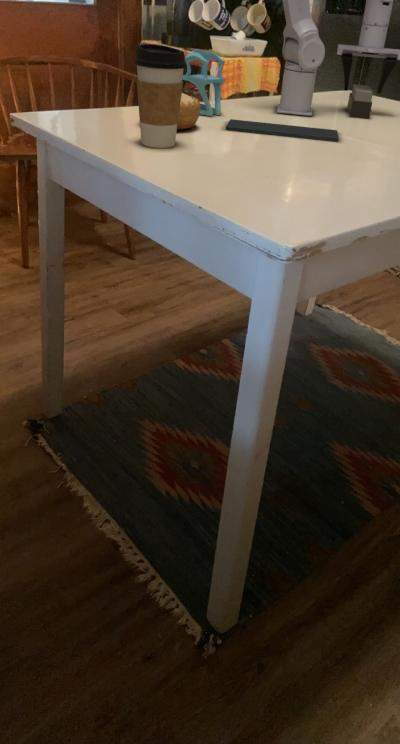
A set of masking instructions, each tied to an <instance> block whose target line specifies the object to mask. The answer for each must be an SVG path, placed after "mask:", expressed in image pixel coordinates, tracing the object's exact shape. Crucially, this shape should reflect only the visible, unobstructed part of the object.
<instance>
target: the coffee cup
mask: <svg viewBox="0 0 400 744" xmlns="http://www.w3.org/2000/svg"><path fill="white" fill-rule="evenodd" d="M185 57H186V56H185V51H183V50H181V49H178V48H174V47H171V46H168V45H163V44H156V43H155V44H154V43H141V44H137V48H136V55H135V57H134V65H135V66H136V70H137V72H136V73H137V78H136V87H137V88H136V90H137V102H138V103H137V104H138V115H139V116H138V117H139V127H140V130H139V131H140V143H141V144H142V145H143V146H145V147H149V148H155V149H169V148H173V147H174V146H176V139H177V131H178V129H177V123H178V117H179V109H180V102H181V95H182V93H183V86H184V80H182V79H183V75H184V69H187V64H186V59H185Z"/></svg>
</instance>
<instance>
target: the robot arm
mask: <svg viewBox="0 0 400 744" xmlns="http://www.w3.org/2000/svg"><path fill="white" fill-rule="evenodd" d="M394 1H395V0H366V1H365V7H364V11H363V18H362V23H361V28H360V33H359V39H358V45H357V44H354V45H353V44H340V43H338V44H337V51H336V55H340V58H341V63H342V67H343V68H342V70H343V78H344V79H343V80H344V81H343V82H344V86H343V91H345V92H348V89H349V84H350V74H351V70H352V65H353V61H354V60H353V56H355V57H364V58H365V57H367V58H376V59H377V58H378V59H383V61H382V67H381V71H380V72H381V73H380V78H379V81H378V85H377V90H376V94H378V95H381V94H382V91H383V88H384V86H385V84H386V81H387V79H388V78H389V76H390V74H392V73H391V72H393V70H394V69H395V67H396V65H397V63H398V61H400V49H398V48H389V47H385V44H386V40H387V34H388V29H389V25H390V19H391V15H392V10H393V6H394ZM282 7H283V11H284V17H285V27H284V29H283V32H282V35H283V44H282V51H281V52H282V57H283V59H284V60H285V63H284V69H283V75H282V76H283V77H282V84H281V92H280V99H279V103H278V104H277V108H276V113H278V114H286V115H296V116H297V115H298V116H305V117H306V116H307V117H312V116H313V107H312V104H313V96H314V91H315V85H316V78H317V71H318V68H319V67H320V66H321V65H322V63H323V61H324V59H325V55H326V48H325V44H324V43H323V41H322V40H321V38H320V35H319V29H318V27H317V26H316V23H315V22H314V20H313V18H312V14H311V7H310V0H282ZM368 53H369V54H368ZM397 60H398V61H397Z"/></svg>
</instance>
